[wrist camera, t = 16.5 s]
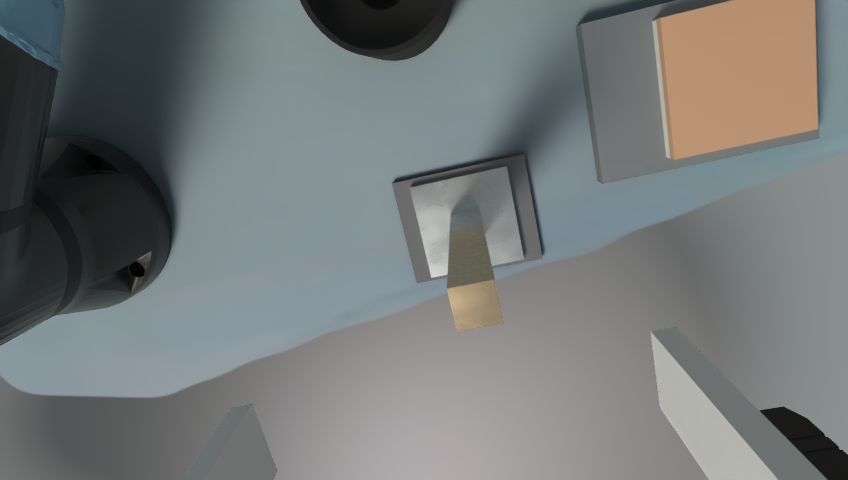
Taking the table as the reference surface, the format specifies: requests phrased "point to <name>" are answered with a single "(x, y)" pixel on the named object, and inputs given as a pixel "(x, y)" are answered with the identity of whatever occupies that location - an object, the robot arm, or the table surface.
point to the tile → (736, 74)
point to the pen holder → (380, 25)
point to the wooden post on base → (469, 239)
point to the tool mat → (513, 163)
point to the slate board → (639, 95)
